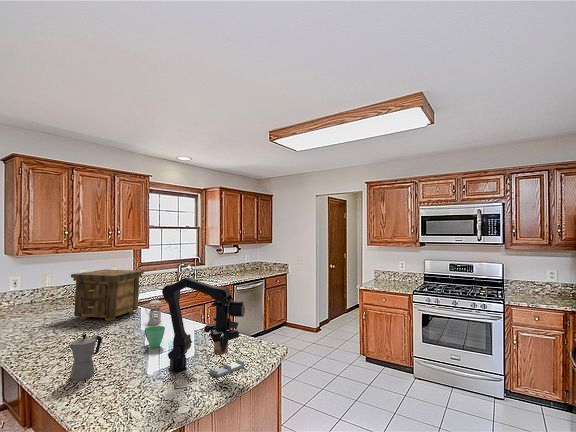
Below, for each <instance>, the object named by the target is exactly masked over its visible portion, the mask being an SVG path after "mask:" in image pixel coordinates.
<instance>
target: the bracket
mask: <svg viewBox="0 0 576 432" xmlns="http://www.w3.org/2000/svg"><path fill="white" fill-rule="evenodd" d="M244 367H245V361H243V360H241V359H239V358H236V359H235V361H234V362H233V363H230V364H227V363H223V364H222V367H219V368H217V369H214V368H212V367H211V368H209V369H208V371H209V374H208V375H210V374H211V375H210V376H212V375H213V377H214V376H215V377H214V378H219V377H221V376H224V375H227V374H230V373H232V372H234V371H237V370H239V369H242V368H244ZM226 373H227V374H226ZM223 374H224V375H223ZM218 376H219V377H218Z"/></svg>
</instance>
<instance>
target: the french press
mask: <svg viewBox="0 0 576 432" xmlns="http://www.w3.org/2000/svg"><path fill="white" fill-rule="evenodd" d="M154 289H158V286H154ZM159 304H162V301H160V300H158V299H157V298H155V300H151V301H149V304H147V305H146V307H145V309H144V310H145V312H146V314H147V315H148V321H147V322H146V323H147V324H148V325H149V324H151V325H153V324H161V323H162V322H163V320H162V319H161V318H162V317H161V316H162V313H161V312H162V310H161V307H160V306H156V305H159ZM151 305H154V307H152V306H151ZM148 306H149V309H150V310H149V312H148V310H147V308H148Z"/></svg>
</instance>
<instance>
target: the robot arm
mask: <svg viewBox="0 0 576 432" xmlns="http://www.w3.org/2000/svg"><path fill="white" fill-rule="evenodd" d="M185 288H187V289H191V290H194V291H197V292H199V293H203V294H205V295H208V296H209V297H210V298H211V299H213V300H214V302H213V303H211V307H212V306H213V307H215V317H213V321H215V322H214V323H210V324H206V325H205V326H204V328H203V329H204V332H205V333H209V332H210V333H209V334H208V335H209V336H210V337H211V338H210V339H211V340H212V342H213V343H214V342H217V341H220V344H221V349H222V352H224V351H225V349H226V346H227V343H228V344H229V341H231V340H234V339H237V338H240V332H239V330H237V329H238V326H239V322H236V321H234V320H232V319H231V317H237V318H238V317H239V318H243V317H244V316H245V313H246V307H245V301H243V300H242V301H240V300H239V301H235V299H234V298H233V296H232V294H231V291H230V288H228V287H225V286H220V285H219V286H216V285H212V284H208V283H205V282H202V281H199V280H197V279H193V278H191V277H183V278H182V279H180V280H178V281H176V282H174V283H170V284H166V285H164V286H163V288H162V290H161V293H162V296H163V298H164V300H165V303H167V305H168V309H169V314H170V320H171V324H172V329H173V336H174V337H173V340H172V350H170V351H169V352H168V353H167V356H168V359H169V367H168V368H167V370H169V371H170V372H172V373H174V374H177V373H179V372H183V371H186V370H188V367H187V357H186V356H187V355H186V354H187V353H188V351H189V350H190V349H191V347H192V343H193V341H192V337H191V334H190V333H189V334H187V332H186V330H185V324H184V320H183V315H182V310H181V305H180V299H181V291H183V290H184V289H185ZM229 316H230V317H229ZM185 369H186V370H185Z"/></svg>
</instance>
